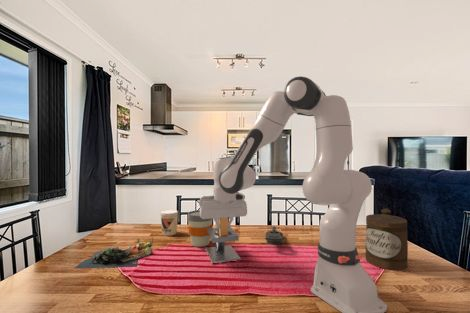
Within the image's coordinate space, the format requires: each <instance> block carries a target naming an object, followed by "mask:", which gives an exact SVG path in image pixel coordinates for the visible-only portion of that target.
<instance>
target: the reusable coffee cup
mask: <svg viewBox="0 0 470 313" xmlns="http://www.w3.org/2000/svg"><path fill="white" fill-rule="evenodd" d="M213 220H214V218H212V219H202V218H201V217H200V209H198V210H191V211H188V212H187V222H188V224H187V229H188V230H187V231H188V235H189V237H190V238H189V239H190V245H191V246H193V247H207V246H208V245H210V241H211V239H210V237H209V236H208V234H207V229H208V228H213ZM206 245H207V246H206Z"/></svg>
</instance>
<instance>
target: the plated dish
mask: <svg viewBox="0 0 470 313" xmlns="http://www.w3.org/2000/svg"><path fill="white" fill-rule="evenodd" d="M153 242H154V238H151V242H145V241H142V242H140V238H138V239H137V241H136V244H133V245H129V246H127V247H126V248H119V246H117V247H114V246H113V247H111V246H110V247H106V248H104V249H101V250H98V251H95V252H94V253H93V255H92V256H91V257H89V258H87V259H83V260H82V261H81V262H80V263H79V264H77V265H76V266H75V267H74V269H99V268H102V269H103V268H106V269H107V268H138V267H137V265H138V263H139V262H138V260H139V261H140V260H141V259H143V258H145V257H146V256H147V255H148V256H149V255H151V253H152V249H153V248H152V247H153ZM148 256H147V257H148ZM140 258H141V259H140Z"/></svg>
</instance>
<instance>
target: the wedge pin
mask: <svg viewBox="0 0 470 313" xmlns="http://www.w3.org/2000/svg"><path fill="white" fill-rule="evenodd" d="M228 222H229V217H227V218H219V223H220V224H221V226H220V227H221V228H219V236H226V235H228Z"/></svg>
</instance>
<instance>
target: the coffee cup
mask: <svg viewBox="0 0 470 313" xmlns="http://www.w3.org/2000/svg"><path fill="white" fill-rule="evenodd" d="M160 218H161V219H160V220H161V222H160V223H161V234H162V236H168V237H169V236H174V235H176V234H177V231H178V219H179V211H178V210H176V209H166V210H163V211H161V212H160Z"/></svg>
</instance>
